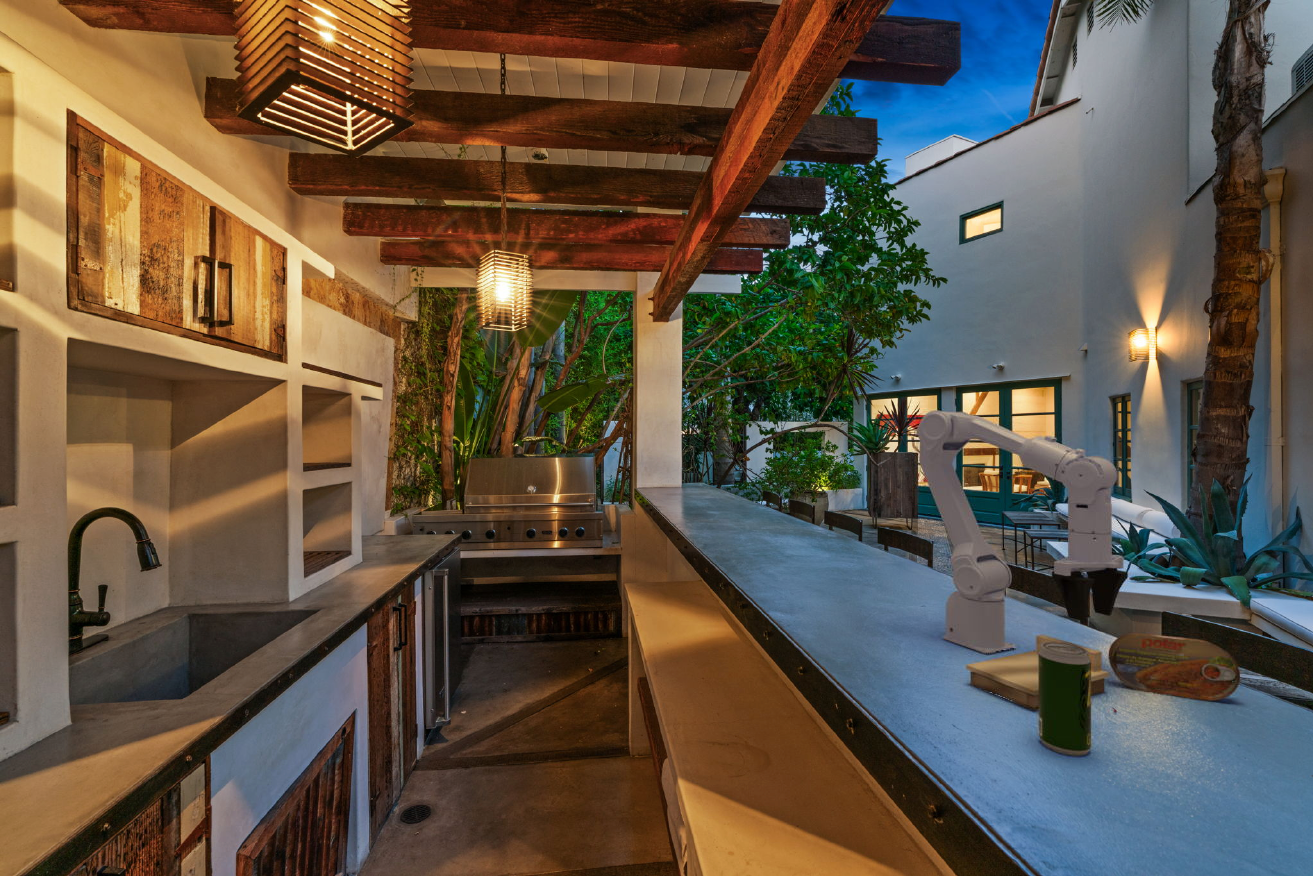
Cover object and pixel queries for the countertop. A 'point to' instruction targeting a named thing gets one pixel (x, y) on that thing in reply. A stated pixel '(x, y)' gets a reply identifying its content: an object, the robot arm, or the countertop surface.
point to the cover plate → (1029, 667)
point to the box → (1018, 695)
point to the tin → (1174, 666)
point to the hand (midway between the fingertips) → (1089, 616)
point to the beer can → (1064, 698)
